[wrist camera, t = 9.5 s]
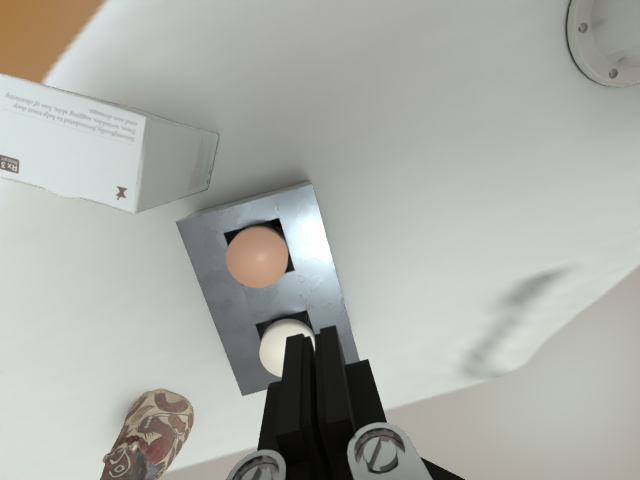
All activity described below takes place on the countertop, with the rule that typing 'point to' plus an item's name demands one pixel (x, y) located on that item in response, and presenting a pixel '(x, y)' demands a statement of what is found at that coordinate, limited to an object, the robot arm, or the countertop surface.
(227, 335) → the housing
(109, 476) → the figurine
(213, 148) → the skincare box
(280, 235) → the knob
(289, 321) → the knob
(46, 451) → the countertop surface
